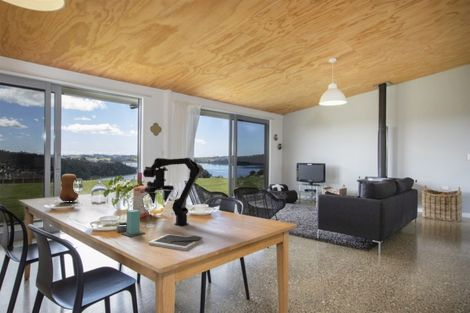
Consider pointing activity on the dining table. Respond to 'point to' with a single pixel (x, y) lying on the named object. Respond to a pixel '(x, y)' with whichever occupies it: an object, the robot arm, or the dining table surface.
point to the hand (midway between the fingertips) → (159, 202)
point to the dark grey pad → (132, 234)
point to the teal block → (133, 222)
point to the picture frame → (176, 241)
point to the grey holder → (121, 227)
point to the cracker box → (139, 200)
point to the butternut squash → (68, 188)
